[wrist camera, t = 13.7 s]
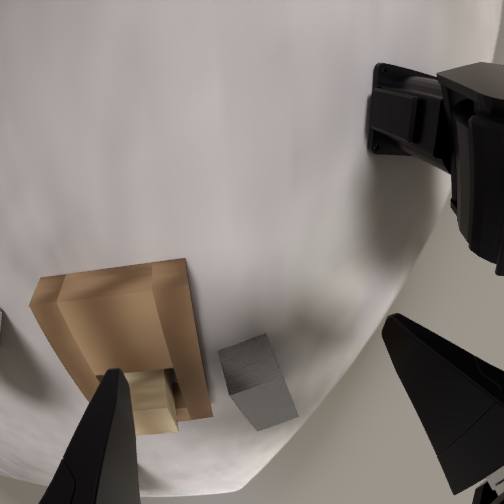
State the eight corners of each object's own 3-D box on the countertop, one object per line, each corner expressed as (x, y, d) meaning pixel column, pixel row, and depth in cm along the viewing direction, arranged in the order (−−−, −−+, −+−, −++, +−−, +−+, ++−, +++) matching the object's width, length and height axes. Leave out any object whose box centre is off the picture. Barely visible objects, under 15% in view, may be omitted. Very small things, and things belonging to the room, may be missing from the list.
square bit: (161, 347, 25) (167, 407, 20) (171, 377, 27) (178, 431, 22) (112, 353, 24) (110, 412, 19) (127, 382, 26) (128, 435, 22)
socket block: (185, 257, 21) (188, 285, 18) (208, 392, 30) (213, 416, 28) (40, 277, 18) (28, 305, 16) (108, 403, 28) (108, 427, 25)
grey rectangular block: (265, 332, 27) (282, 376, 23) (283, 379, 32) (298, 416, 28) (217, 349, 27) (229, 395, 23) (245, 393, 32) (257, 431, 28)
